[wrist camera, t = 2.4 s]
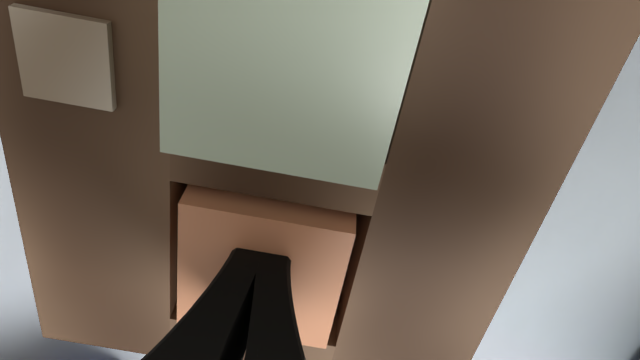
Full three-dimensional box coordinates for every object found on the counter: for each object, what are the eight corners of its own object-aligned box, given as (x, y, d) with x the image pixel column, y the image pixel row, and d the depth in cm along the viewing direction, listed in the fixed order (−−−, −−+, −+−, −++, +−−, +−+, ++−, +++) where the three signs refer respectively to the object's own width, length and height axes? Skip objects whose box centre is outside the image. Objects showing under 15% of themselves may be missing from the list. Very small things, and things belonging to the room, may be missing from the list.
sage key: (423, -66, 9) (440, -41, 7) (374, 127, 11) (376, 190, 9) (204, -109, 9) (156, -96, 7) (197, 96, 11) (159, 151, 9)
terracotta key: (357, 174, 13) (355, 234, 11) (331, 282, 16) (326, 349, 14) (206, 147, 13) (177, 203, 11) (201, 260, 16) (176, 324, 13)
